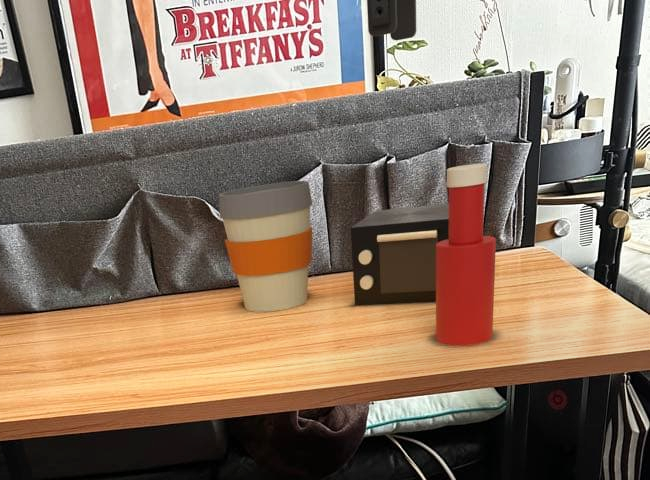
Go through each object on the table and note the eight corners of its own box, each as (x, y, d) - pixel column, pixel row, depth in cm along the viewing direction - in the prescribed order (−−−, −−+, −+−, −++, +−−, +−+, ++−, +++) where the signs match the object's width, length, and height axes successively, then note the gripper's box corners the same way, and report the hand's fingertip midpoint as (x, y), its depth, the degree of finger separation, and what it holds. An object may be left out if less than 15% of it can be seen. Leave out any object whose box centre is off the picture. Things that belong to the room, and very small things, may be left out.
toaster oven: (464, 280, 100) (465, 201, 95) (448, 308, 88) (449, 220, 83) (378, 285, 104) (375, 210, 99) (352, 313, 92) (347, 229, 87)
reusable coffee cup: (233, 300, 109) (218, 191, 101) (316, 288, 108) (307, 178, 101) (231, 319, 98) (215, 199, 91) (324, 307, 97) (314, 184, 90)
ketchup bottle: (494, 334, 76) (501, 160, 68) (489, 350, 72) (496, 165, 64) (440, 336, 78) (440, 167, 70) (432, 352, 74) (431, 173, 66)
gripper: (421, -281, 47) (424, 24, 55) (452, -213, 58) (450, 32, 66) (310, -241, 49) (328, 42, 57) (360, -184, 61) (369, 47, 69)
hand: (393, 36), depth 62 cm, fingers open, 8 cm apart
